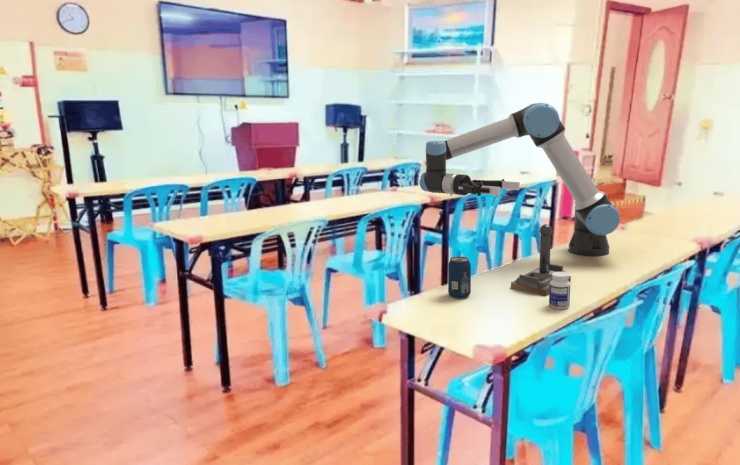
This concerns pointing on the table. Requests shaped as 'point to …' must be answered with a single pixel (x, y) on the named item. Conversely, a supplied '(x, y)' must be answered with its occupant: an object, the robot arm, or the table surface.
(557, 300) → the pill bottle
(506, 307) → the table surface
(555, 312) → the table surface
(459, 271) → the soda can
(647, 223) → the table surface
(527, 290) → the press base
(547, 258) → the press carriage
